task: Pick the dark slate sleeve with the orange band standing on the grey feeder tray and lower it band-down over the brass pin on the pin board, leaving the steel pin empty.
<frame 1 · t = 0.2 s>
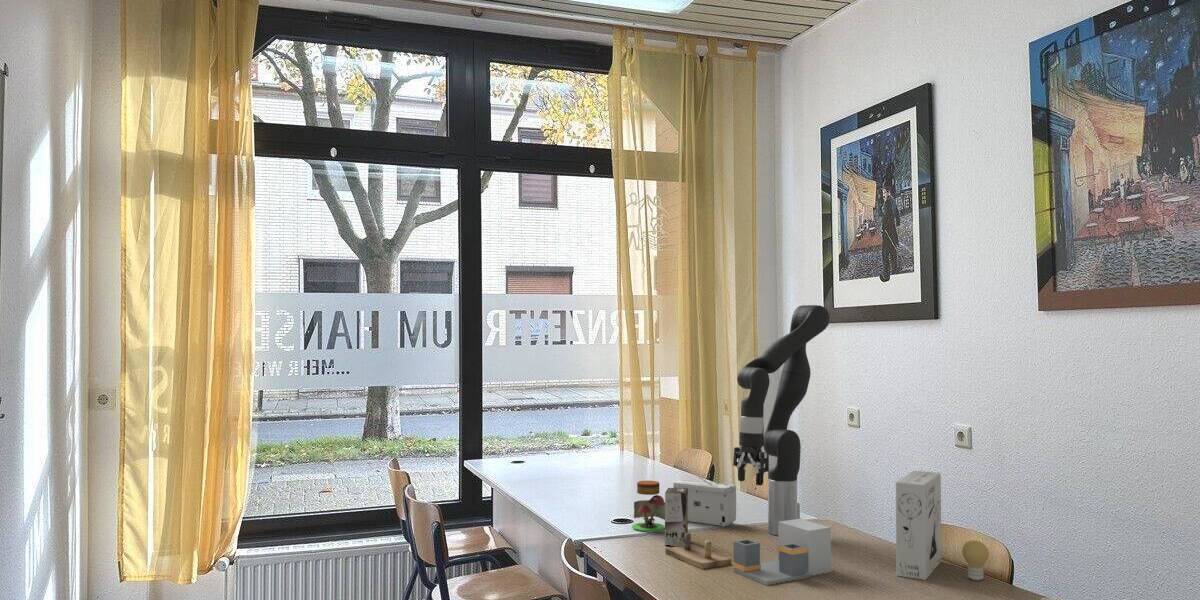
hand: (750, 483, 269), 17 cm above the table, tool pointing down, fingers open, 8 cm apart
coffee box: (676, 543, 263), on the table
pin board: (697, 558, 245), on the table
sleeve b: (792, 572, 228), point 1 cm above the table, touching feeder
light bulb: (975, 580, 226), on the table
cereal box: (919, 569, 236), on the table
stereo radio cassette player: (703, 522, 291), on the table
sleeve a: (746, 568, 232), point 1 cm above the table, touching feeder
red mushroom: (649, 528, 282), on the table
feeder: (793, 570, 233), on the table
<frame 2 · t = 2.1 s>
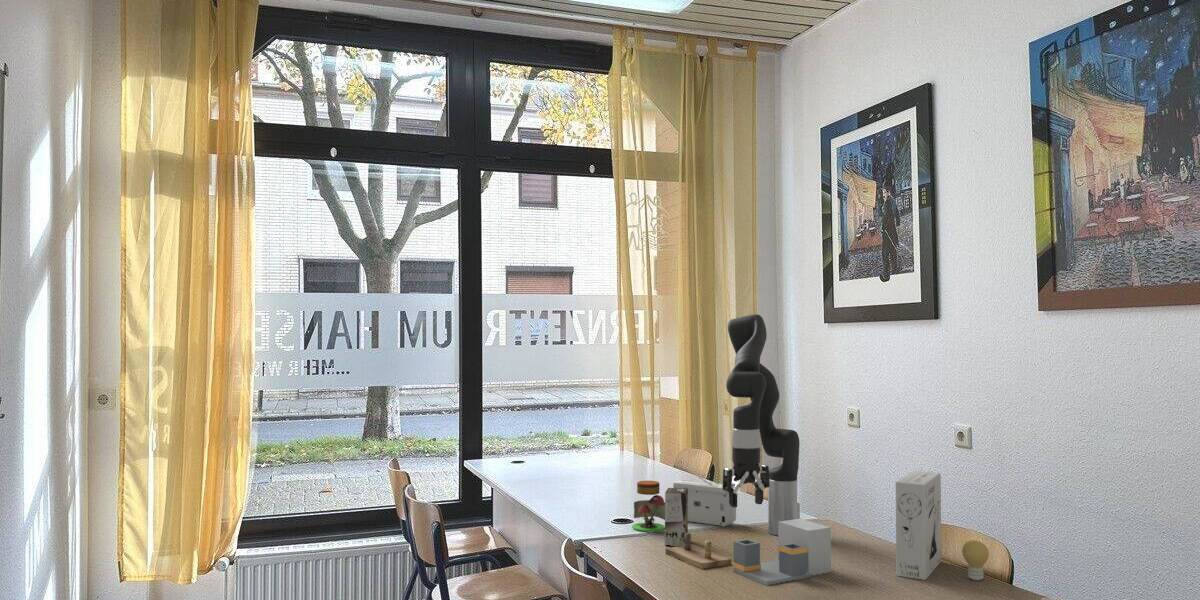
hand: (746, 505, 233), 18 cm above the table, tool pointing down, fingers open, 8 cm apart
nothing on the table moved.
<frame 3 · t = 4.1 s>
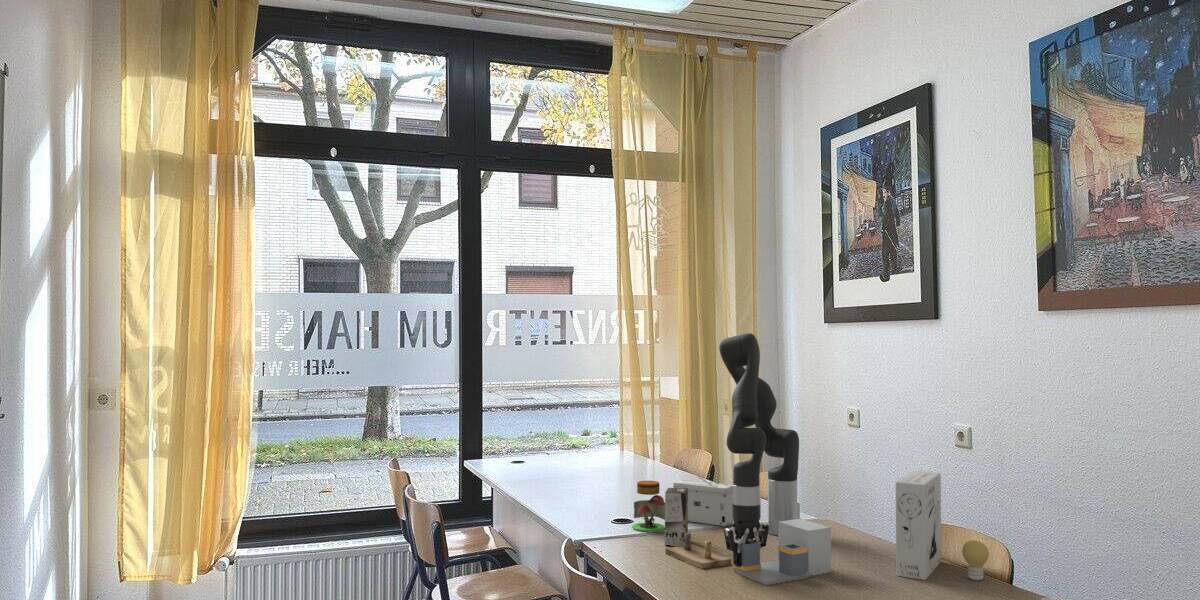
hand: (746, 564, 232), 2 cm above the table, tool pointing down, fingers closed on sleeve a, 5 cm apart
sleeve a: (746, 568, 232), point 1 cm above the table, touching feeder, gripper
everything else where it was.
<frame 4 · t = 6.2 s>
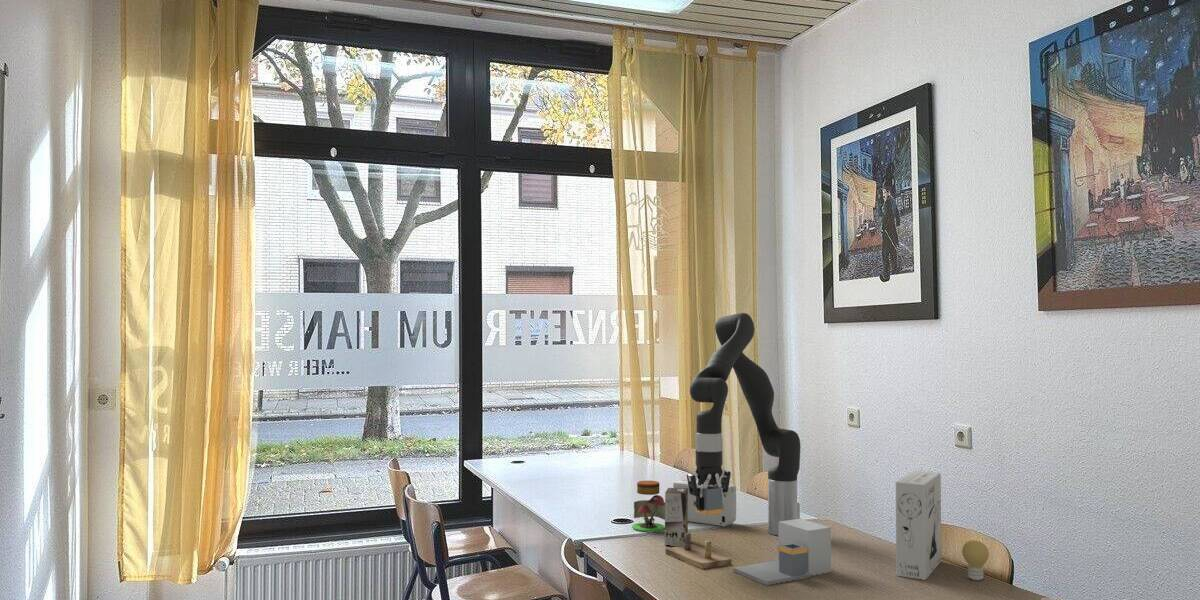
hand: (708, 509, 241), 15 cm above the table, tool pointing down, fingers closed on sleeve a, 5 cm apart
sleeve a: (709, 512, 241), point 14 cm above the table, touching gripper
everything else where it was.
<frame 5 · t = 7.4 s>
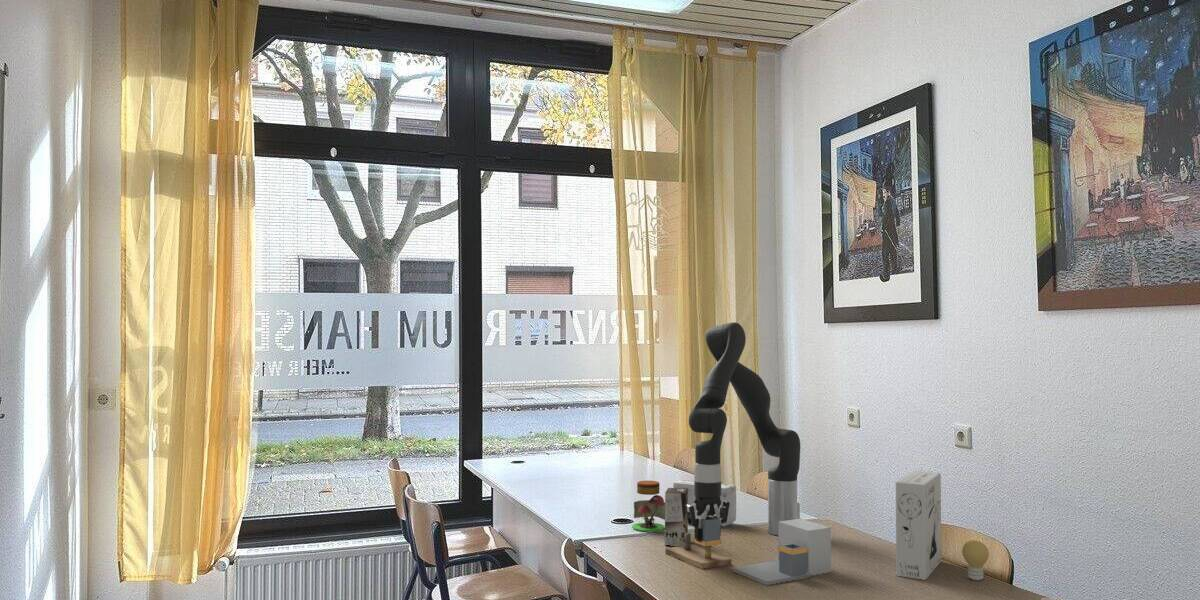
hand: (707, 539, 241), 6 cm above the table, tool pointing down, fingers closed on sleeve a, 5 cm apart
sleeve a: (707, 543, 241), point 5 cm above the table, touching gripper
everything else where it was.
when the fingers open (4 cm above the table, at t = 8.4 s): sleeve a drops 1 cm, resting on pin board.
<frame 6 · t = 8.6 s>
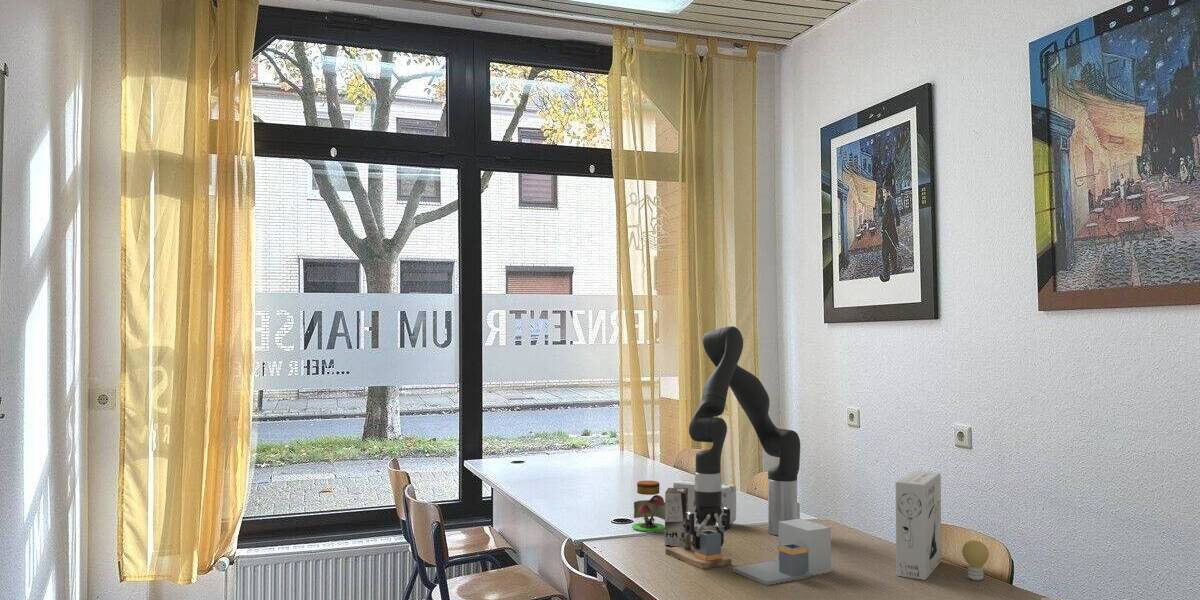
hand: (708, 547, 241), 4 cm above the table, tool pointing down, fingers open, 7 cm apart
sleeve a: (708, 557, 241), point 1 cm above the table, touching pin board
everything else where it was.
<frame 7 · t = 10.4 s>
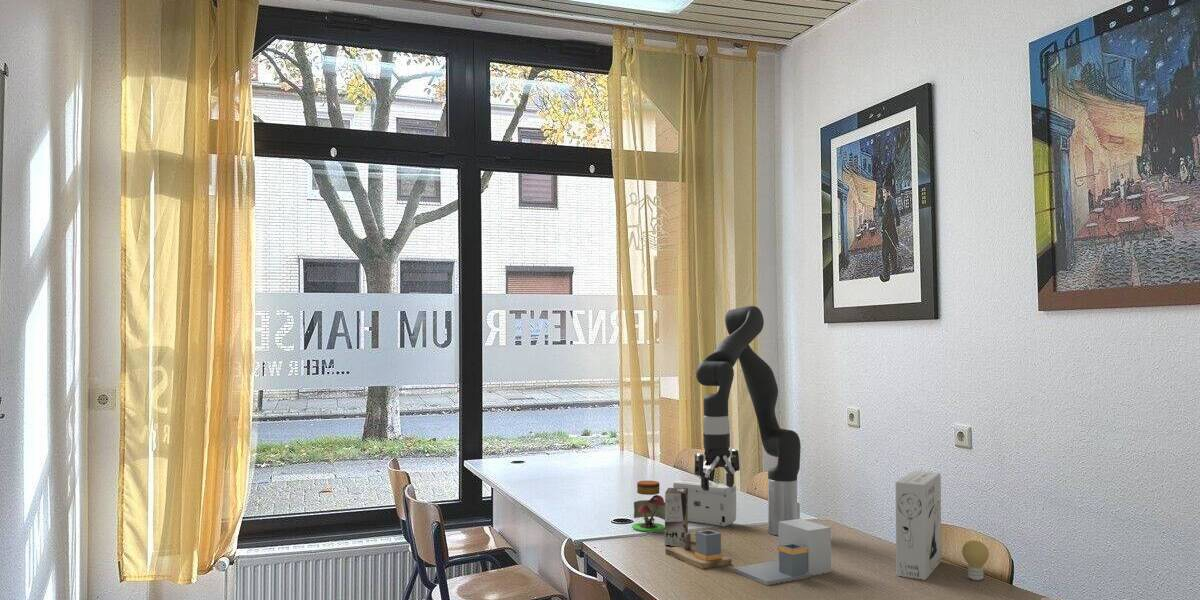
hand: (717, 488, 244), 20 cm above the table, tool pointing down, fingers open, 8 cm apart
nothing on the table moved.
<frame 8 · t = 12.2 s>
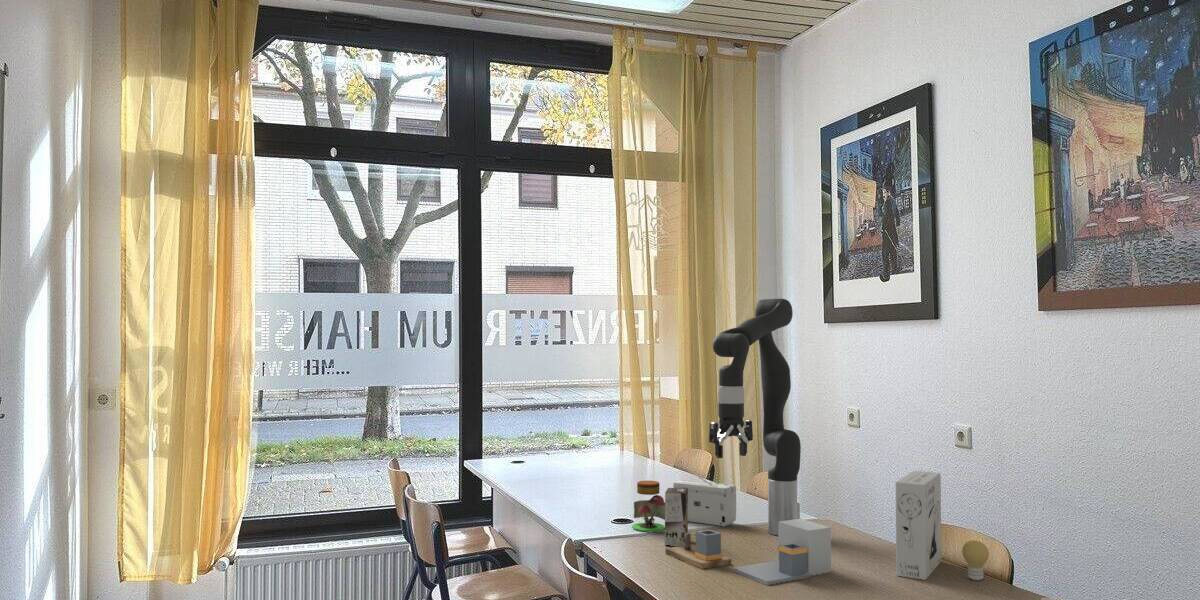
hand: (731, 456, 252), 28 cm above the table, tool pointing down, fingers open, 8 cm apart
nothing on the table moved.
at the end: sleeve a 0.1 cm from the target spot on the pin board, point 1.5 cm above the pin board's base; sleeve a tilted 0°; the gripper is holding nothing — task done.
